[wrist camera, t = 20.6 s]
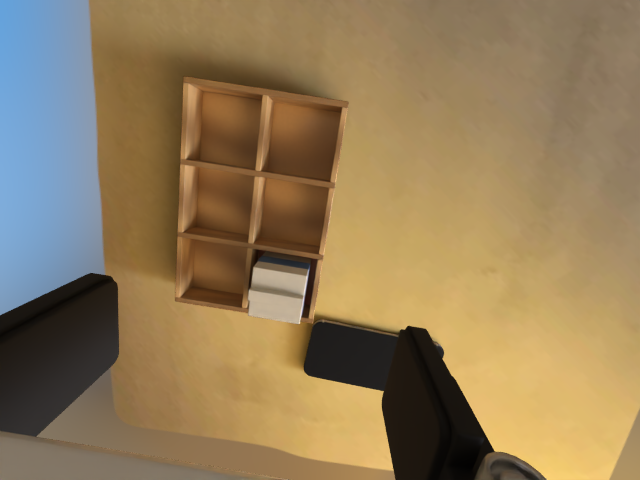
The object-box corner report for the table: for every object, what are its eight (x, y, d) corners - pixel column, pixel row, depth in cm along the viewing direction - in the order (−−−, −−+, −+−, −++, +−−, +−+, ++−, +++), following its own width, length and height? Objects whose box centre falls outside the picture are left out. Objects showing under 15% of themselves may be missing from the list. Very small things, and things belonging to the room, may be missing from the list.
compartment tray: (201, 86, 29) (183, 75, 26) (347, 109, 29) (348, 101, 25) (191, 287, 34) (174, 301, 31) (314, 307, 34) (312, 323, 31)
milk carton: (266, 249, 32) (250, 269, 26) (312, 256, 32) (306, 278, 26) (261, 291, 33) (244, 320, 27) (305, 299, 33) (298, 329, 27)
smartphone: (427, 400, 35) (301, 375, 35) (426, 396, 36) (302, 371, 36) (446, 346, 34) (314, 319, 33) (444, 343, 34) (314, 316, 34)
